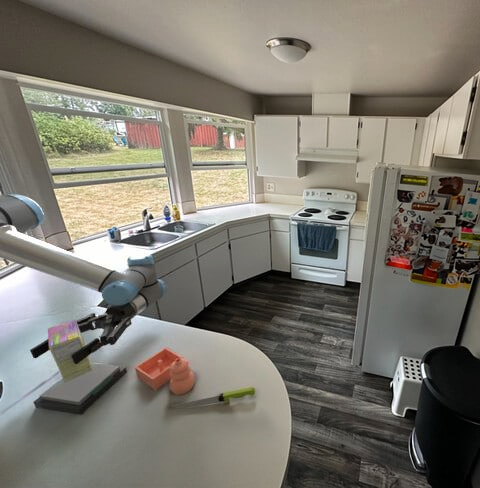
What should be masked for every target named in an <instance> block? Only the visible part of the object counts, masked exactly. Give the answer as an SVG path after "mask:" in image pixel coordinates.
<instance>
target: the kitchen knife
mask: <svg viewBox="0 0 480 488" xmlns="http://www.w3.org/2000/svg"><path fill="white" fill-rule="evenodd" d="M255 393H256V389H255V388H254V387H252V386H251V387H247V388H241V389H236V390H231V391H226V392H223V393H222V392H221V393H219V395H216V396H209V397H205V398H200V399H195V400H191V401H186V402H181V403H176V404H170V407H172V408H176V409H187V408H193V407H194V408H195V407H201V406H206V405H212V404H219V403H225V404H229V402H230V399H241V398H243V397H246V396H251V397H253V396H255Z"/></svg>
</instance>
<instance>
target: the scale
mask: <svg viewBox="0 0 480 488" xmlns="http://www.w3.org/2000/svg"><path fill="white" fill-rule="evenodd" d="M91 366H92V371H90V372H87V373H85V374H83V375H81V376H78V377H76V378H74V379H72V380H69V381H67V382H64V380H63V377H61V379H60V380H58V381H57V382H56V383H54V384H53V385H52V386H50V387H49V388H48V389H46V390H45V391H43V392H42V393H41V394H39V396H38V397H37V398H36V399H35V400H33V404H34V407H35V408H37V409H44V410H49V411H55V412H63V413H68V414H74V415H81V416H83V414H84V413H85V412H86V411H88V409H90V407H92V405H94V404H95V403H97V401H98V400H100V398H101V397H102V396H104V395H105V393H107V392H108V391H109V390H110V389H111V388H112V387H113V386H114V385H115V384H116V383H117V382H118V381H120V380H121V379H122V378H123V377H124V376H125V375H126V374H127V373H128V370H127V367H126V366H118V365H112V364H105V363H97V362H91Z"/></svg>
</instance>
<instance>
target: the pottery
mask: <svg viewBox="0 0 480 488" xmlns="http://www.w3.org/2000/svg"><path fill="white" fill-rule="evenodd" d="M189 364H190V362H189V360H188V359H187V358H184V357H183V356H181V355H179V354H178V353H176V352H174V351H172V350H171V349H169V348H168V347H164V348H163V349H161V350H160V351H158V352H157V353H155V354H153V355H152V356H150V357H149V358H147V359H145V360H144V361H142V362H141V363H139V364H138V365H136V366H134V369H135V374H136V376H137V379H138V380H139V381H142V382H143V383H144V384H146V385H147V386H149V387H151V388H152V389H153V390H154V391H156V390H158V389H159V388H160V387H162V386H163V385H165V384H166V383H167V382H168V381H170V382H169V389H170V391H171V392H172V393H173V394H174V395H177V396H179V395H183V394H186V393H188V392H189V391H191V389H193V387H194V385H195V380H196V376H195V374H194V373H193V371H191V366H190V365H189Z"/></svg>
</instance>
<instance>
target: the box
mask: <svg viewBox="0 0 480 488" xmlns="http://www.w3.org/2000/svg"><path fill="white" fill-rule="evenodd" d="M47 339H48V340H49V349H50V350H49V351H50V353H51V355H52V357H53V360H54V362H55V364H56V366H57V368H58V370H59V372H60V375H61V378H63V380H64V382H67V381H69V380H72V379H74V378H76V377H78V376H81V375H83V374H85V373H87V372H90V371H92V366H91V363H92V362H91V359H90V355H89V356H87V357H86V358H85V359H83V360H82V361H81V362H79V363H78V364H74V361H73V359H72V356H71V355H73V354H74V353H76V352H77V351H78V350H80V349H81V348H83V347H84V346H86V345H87V344H86V343H85V340H84V337H83V334H82V333H81V332H80V330H79V327H78V324H77V322H76V319H73V320H70V321H65V322H63V323H60V324H57V325H55V326H51V327H49V328H47Z"/></svg>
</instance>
